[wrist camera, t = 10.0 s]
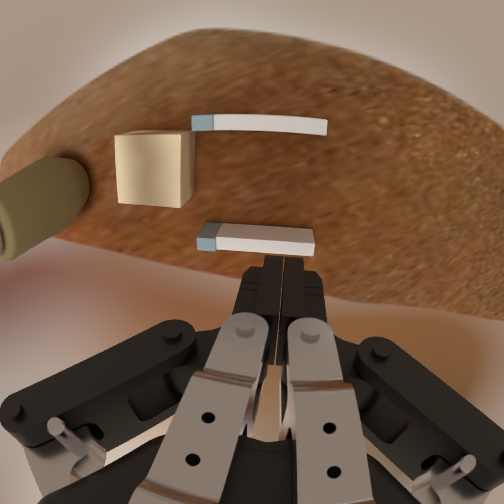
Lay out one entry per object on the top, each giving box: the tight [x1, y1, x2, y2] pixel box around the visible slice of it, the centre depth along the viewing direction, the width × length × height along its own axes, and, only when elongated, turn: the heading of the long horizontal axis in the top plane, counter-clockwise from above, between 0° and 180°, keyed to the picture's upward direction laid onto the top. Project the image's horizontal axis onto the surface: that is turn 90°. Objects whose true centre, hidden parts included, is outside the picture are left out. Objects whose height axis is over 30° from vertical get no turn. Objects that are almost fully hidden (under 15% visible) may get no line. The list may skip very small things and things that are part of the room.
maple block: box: [115, 130, 196, 208], centre depth 23 cm, size 6×6×4 cm
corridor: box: [192, 114, 327, 256], centre depth 23 cm, size 10×11×3 cm
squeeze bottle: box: [0, 156, 90, 260], centre depth 19 cm, size 8×8×18 cm
